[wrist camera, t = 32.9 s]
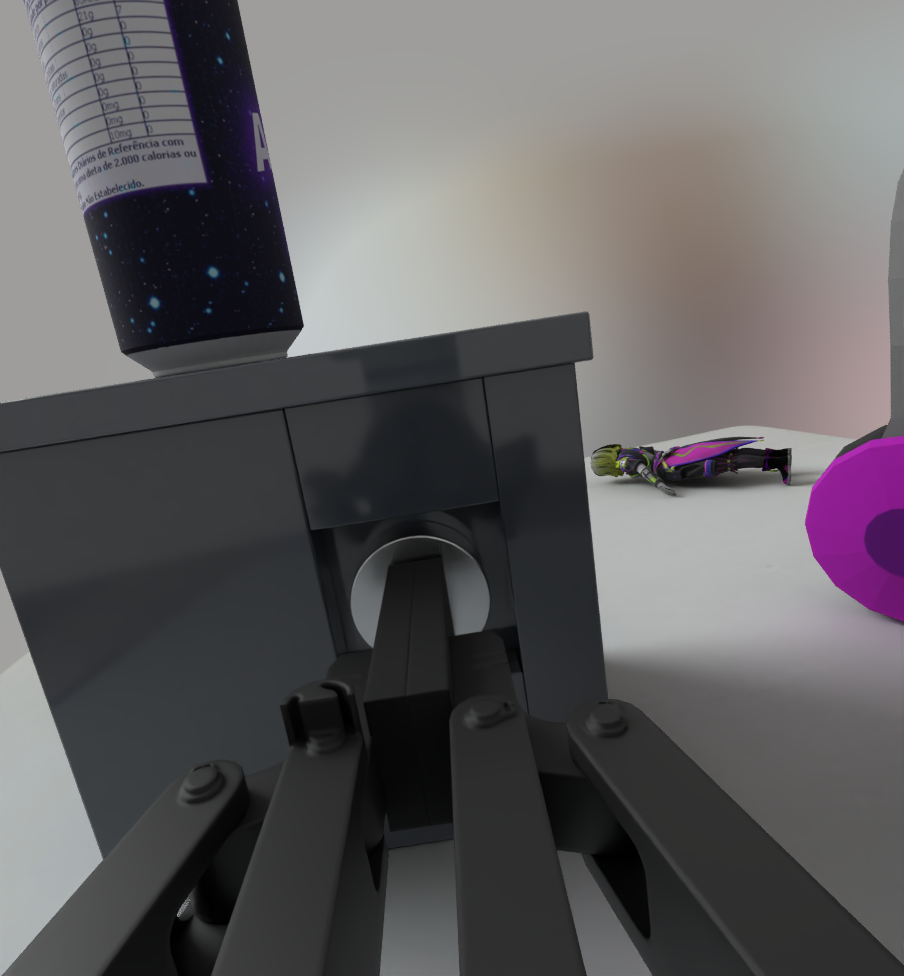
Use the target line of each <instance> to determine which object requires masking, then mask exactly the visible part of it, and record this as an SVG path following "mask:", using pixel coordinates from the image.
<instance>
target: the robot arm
mask: <svg viewBox="0 0 904 976" xmlns="http://www.w3.org/2000/svg"><path fill="white" fill-rule="evenodd" d="M280 709H281V714H282V718H283V722H284V726H285V730H286V734H287V738H288V742H289V749H288V752H287V755H286V758H285V760H284V761H282V762H280V763H279V764H276V765H274V766H272V767H270V768H267V769H264V770H262V771H259V772H256V773H254V774H251V775H248V776H244V772H243V769H242V767H241V766H240V765H239V764H238V763H237V762H236V761H231V760H226V759H222V760H214V761H209V762H205V763H203V764H199V765H197V766H194V767H193V768H191V769H190V770H188V771H186V772H185V773H183V774H181V775H180V776H179V777H177V778H176V779H175V780H174V781H173V782H172V783H171V784H170V785H169V786H168V787H167V788H166V789H165V790H164V791H163V792H162V793H161V795H160V796H159V797H158V798H157V799H156V800H155V801H154V803H153V804H152V805H151V806H150V807H149V808H148V809H147V811H146V812H145V813H144V814H143V815H142V816H141V817H140V819H139V820H138V821H137V822H136V823H135V824H134V825H133V827H132V828H131V829H130V830H129V831H128V832H127V833H126V835H125V836H124V837H123V838H122V839H121V840H120V841H119V843H118V844H117V845H116V846H115V847H114V848H113V849H112V851H111V852H110V853H109V854H108V855H107V856H106V857H105V859H104V860H103V861H102V862H101V863H100V864H99V865H98V867H97V868H96V869H95V870H94V871H93V872H92V873H91V875H90V876H89V877H88V878H87V879H86V880H85V881H84V883H83V884H82V885H81V886H80V887H79V888H78V889H77V891H76V892H75V893H74V894H73V895H72V896H71V897H70V899H69V900H68V901H67V902H66V903H65V904H64V905H63V907H62V908H61V909H60V910H59V911H58V912H57V913H56V915H55V916H54V917H53V918H52V919H51V920H50V921H49V923H48V924H47V925H46V926H45V927H44V928H43V929H42V931H41V932H40V933H39V934H38V935H37V936H36V937H35V939H34V940H33V941H32V942H31V943H30V944H29V945H28V947H27V948H26V949H25V950H24V951H23V952H22V953H21V955H20V956H19V957H18V958H17V959H16V960H15V961H14V963H13V964H12V965H11V966H10V967H9V968H8V969H7V971H6V972H5V973H4V974H3V975H2V976H379V974H380V961H381V948H382V936H383V923H384V910H385V897H386V884H387V871H388V858H389V854H388V848H387V843H386V838H385V834H384V824H385V814H387V819H388V824H389V829H390V832H394V831H401V830H407V829H414V828H420V827H427V826H434V825H441V824H448V823H454V846H455V870H456V894H457V918H458V943H459V967H460V976H587V975H586V971H585V967H584V963H583V959H582V954H581V950H580V946H579V942H578V938H577V934H576V929H575V925H574V921H573V917H572V913H571V909H570V904H569V900H568V896H567V892H566V888H565V884H564V879H563V875H562V871H561V867H560V863H559V859H558V854H557V850H562V851H570V852H577V853H582V855H583V858H584V861H585V864H586V866H587V868H588V869H589V871H590V873H591V874H592V876H593V878H594V879H595V881H596V883H597V884H598V886H599V887H600V889H601V891H602V892H603V894H604V896H605V897H606V899H607V901H608V902H609V904H610V906H611V907H612V909H613V911H614V912H615V914H616V916H617V917H618V919H619V921H620V922H621V924H622V925H623V927H624V929H625V930H626V932H627V934H628V935H629V937H630V939H631V940H632V942H633V944H634V945H635V947H636V949H637V950H638V952H639V954H640V955H641V957H642V958H643V960H644V962H645V963H646V965H647V967H648V968H649V970H650V972H651V973H652V975H653V976H904V965H903V964H902V963H901V962H900V961H899V960H898V959H897V958H896V957H895V956H894V955H892V954H891V953H890V952H889V951H888V950H887V949H886V948H885V947H884V946H883V945H882V944H881V943H880V942H879V941H878V940H877V939H876V938H875V937H874V936H873V935H872V934H871V933H870V932H869V931H868V930H867V929H866V928H865V927H864V926H863V925H862V924H861V923H860V922H858V921H857V920H856V919H855V918H854V917H853V916H852V915H851V914H850V913H849V912H848V911H847V910H846V909H845V908H844V907H843V906H842V905H841V904H840V903H839V902H838V901H837V900H836V899H835V898H834V897H833V896H832V895H831V894H830V893H829V892H828V891H827V890H826V889H824V888H823V887H822V886H821V885H820V884H819V883H818V882H817V881H816V880H815V879H814V878H813V877H812V876H811V875H810V874H809V873H808V872H807V871H806V870H805V869H804V868H803V867H802V866H801V865H800V864H799V863H798V862H797V861H796V860H795V859H794V858H793V857H791V856H790V855H789V854H788V853H787V852H786V851H785V850H784V849H783V848H782V847H781V846H780V845H779V844H778V843H777V842H776V841H775V840H774V839H773V838H772V837H771V836H770V835H769V834H768V833H767V832H766V831H765V830H764V829H763V828H762V827H761V826H760V825H759V824H757V823H756V822H755V821H754V820H753V819H752V818H751V817H750V816H749V815H748V814H747V813H746V812H745V811H744V810H743V809H742V808H741V807H740V806H739V805H738V804H737V803H736V802H735V801H734V800H733V799H732V798H731V797H730V796H729V795H728V794H727V793H726V792H725V791H723V790H722V789H721V788H720V787H719V786H718V785H717V784H716V783H715V782H714V781H713V780H712V779H711V778H710V777H709V776H708V775H707V774H706V773H705V772H704V771H703V770H702V769H701V768H700V767H699V766H698V765H697V764H696V763H695V762H694V761H693V760H692V759H691V758H689V757H688V756H687V755H686V754H685V753H684V752H683V751H682V750H681V749H680V748H679V747H678V746H677V745H676V744H675V743H674V742H673V741H672V740H671V739H670V738H669V737H668V736H667V735H666V734H665V733H664V732H663V731H662V730H661V729H660V728H659V727H658V726H657V725H655V724H654V723H653V722H652V721H651V720H650V719H649V718H648V717H647V716H646V715H645V714H644V713H643V712H642V711H641V710H639V709H638V708H636V707H635V706H633V705H632V704H629V703H626V702H623V701H619V700H612V699H599V700H593V701H588V702H586V703H583V704H581V705H579V706H577V707H576V708H575V709H574V710H573V711H572V712H571V713H570V714H569V715H568V719H567V723H559V722H550V721H544V720H540V719H537V718H534V717H532V716H531V715H529V714H527V713H526V712H525V711H524V710H523V709H522V708H521V706H520V704H519V703H518V701H517V696H516V692H515V688H514V684H513V680H512V676H511V671H510V667H509V664H508V659H507V655H506V651H505V646H504V642H503V639H502V638H501V637H500V636H498V635H497V634H496V633H495V632H493V631H492V630H487V631H480V632H474V633H467V634H461V635H455V634H454V628H453V622H452V616H451V610H450V604H449V598H448V591H447V585H446V579H445V573H444V567H443V561H442V557H441V558H435V559H428V560H422V561H415V562H409V563H402V564H396V565H389V566H388V571H387V577H386V582H385V587H384V593H383V598H382V603H381V609H380V614H379V619H378V625H377V630H376V636H375V641H374V646H373V650H367V651H360V652H354V653H347V654H341V655H340V656H339V657H338V658H337V659H336V661H335V662H334V663H333V664H332V665H331V666H330V667H329V669H328V672H327V675H326V678H325V679H322V680H318V681H314V682H310V683H307V684H305V685H303V686H301V687H299V688H297V689H295V690H294V691H292V692H291V693H290V694H289V695H287V696H286V697H285V698H284V700H283V701H282V703H281V704H280ZM188 895H189V898H190V903H189V904H188V906H187V907H186V909H185V910H184V912H183V913H182V914H181V915H180V916H179V917H177V913H178V911H179V909H180V907H181V906H182V904H183V903H184V901H185V900H186V898H187V897H188Z"/></svg>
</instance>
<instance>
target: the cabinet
mask: <svg viewBox="0 0 904 976" xmlns="http://www.w3.org/2000/svg"><path fill="white" fill-rule="evenodd" d="M592 359H593V348H592V338H591V326H590V316H589V313H588V312H579V313H573V314H566V315H559V316H553V317H547V318H541V319H534V320H527V321H521V322H514V323H508V324H502V325H496V326H489V327H483V328H476V329H469V330H463V331H457V332H450V333H444V334H438V335H431V336H424V337H418V338H412V339H405V340H398V341H392V342H386V343H379V344H373V345H367V346H360V347H353V348H347V349H341V350H334V351H328V352H321V353H315V354H308V355H302V356H296V357H289V358H283V359H276V360H270V361H263V362H257V363H250V364H244V365H238V366H231V367H225V368H218V369H212V370H205V371H199V372H192V373H186V374H180V375H173V376H167V377H160V378H154V379H147V380H141V381H135V382H128V383H122V384H115V385H109V386H103V387H96V388H89V389H83V390H77V391H70V392H64V393H57V394H51V395H44V396H38V397H31V398H26V399H19V400H13V401H6V402H0V569H1V572H2V575H3V577H4V580H5V583H6V586H7V589H8V591H9V594H10V597H11V600H12V603H13V606H14V608H15V611H16V614H17V617H18V620H19V623H20V625H21V628H22V631H23V634H24V637H25V639H26V642H27V645H28V648H29V651H30V654H31V657H32V659H33V662H34V665H35V668H36V671H37V674H38V676H39V679H40V682H41V685H42V688H43V691H44V693H45V696H46V699H47V702H48V705H49V708H50V710H51V713H52V716H53V719H54V722H55V725H56V727H57V730H58V733H59V736H60V739H61V742H62V744H63V747H64V750H65V753H66V756H67V759H68V761H69V764H70V767H71V770H72V773H73V776H74V778H75V781H76V784H77V787H78V790H79V793H80V795H81V798H82V801H83V804H84V807H85V810H86V812H87V815H88V818H89V821H90V824H91V827H92V829H93V832H94V835H95V838H96V841H97V844H98V846H99V849H100V852H101V855H102V858H103V860H104V859H105V857H106V856H107V855H108V854H109V853H110V852H111V851H112V849H113V848H114V847H115V846H116V845H117V844H118V843H119V841H120V840H121V839H122V838H123V837H124V836H125V835H126V833H127V832H128V831H129V830H130V829H131V828H132V827H133V825H134V824H135V823H136V822H137V821H138V820H139V819H140V817H141V816H142V815H143V814H144V813H145V812H146V811H147V809H148V808H149V807H150V806H151V805H152V804H153V803H154V801H155V800H156V799H157V798H158V797H159V796H160V795H161V793H162V792H163V791H164V790H165V789H166V788H167V787H168V786H169V785H170V784H171V783H172V782H173V781H174V780H175V779H176V778H177V777H179V776H180V775H181V774H183V773H185V772H186V771H188V770H190V769H191V768H193V767H194V766H197V765H199V764H203V763H205V762H209V761H214V760H222V759H226V760H231V761H236V762H237V763H238V764H239V765H240V766H241V767H242V769H243V772H244V776H248V775H251V774H254V773H256V772H259V771H262V770H264V769H267V768H270V767H272V766H274V765H276V764H279V763H280V762H282V761H284V760H285V758H286V755H287V752H288V749H289V742H288V738H287V734H286V730H285V726H284V722H283V718H282V714H281V709H280V704H281V703H282V701H283V700H284V698H285V697H286V696H287V695H289V694H290V693H291V692H292V691H294V690H295V689H297V688H299V687H301V686H303V685H305V684H307V683H310V682H314V681H318V680H322V679H325V678H326V675H327V672H328V669H329V667H330V666H331V665H332V664H333V663H334V662H335V661H336V659H337V658H338V657H339V656H340V655H341V654H347V653H354V652H360V651H367V650H373V648H371V647H370V646H369V645H368V644H367V643H366V641H365V640H364V639H363V638H362V637H361V635H360V633H359V632H358V630H357V628H356V626H355V624H354V622H353V618H352V615H351V609H350V592H351V586H352V583H353V580H354V576H355V573H356V570H357V566H358V563H359V561H360V559H361V556H362V554H363V553H364V551H365V550H366V548H367V547H368V546H369V545H370V544H371V542H372V541H373V540H374V539H376V538H377V537H378V536H379V535H381V534H382V533H383V532H385V531H387V530H389V529H391V528H393V527H395V526H398V525H401V524H405V523H409V522H419V521H420V522H432V523H438V524H441V525H445V526H447V527H449V528H452V529H454V530H455V531H457V532H459V533H460V534H462V535H463V536H464V537H465V538H467V539H468V540H469V541H470V543H471V544H472V545H473V546H474V547H475V549H476V550H477V551H478V553H479V555H480V557H481V559H482V561H483V564H484V567H485V571H486V575H487V579H488V583H489V587H490V593H491V607H490V612H489V617H488V620H487V622H486V625H485V627H484V629H483V631H487V630H492V631H493V632H495V633H496V634H497V635H498V636H500V637H501V638H502V639H503V642H504V646H505V651H506V655H507V659H508V664H509V667H510V671H511V676H512V680H513V684H514V688H515V692H516V696H517V701H518V703H519V704H520V706H521V708H522V709H523V710H524V711H525V712H526V713H527V714H529V715H531V716H532V717H534V718H537V719H540V720H544V721H550V722H559V723H567V719H568V715H569V714H570V713H571V712H572V711H573V710H574V709H575V708H576V707H577V706H579V705H581V704H583V703H586V702H588V701H593V700H599V699H608V693H607V683H606V673H605V663H604V653H603V643H602V633H601V623H600V613H599V603H598V593H597V583H596V573H595V563H594V553H593V543H592V532H591V522H590V512H589V502H588V492H587V482H586V472H585V462H584V452H583V442H582V432H581V424H580V423H581V422H580V413H579V402H578V392H577V383H576V373H575V363H576V362H583V361H589V360H592ZM384 834H385V838H386V843H387V848H388V849H390V848H396V847H403V846H409V845H415V844H422V843H428V842H434V841H441V840H447V839H453V838H454V823H448V824H441V825H434V826H427V827H420V828H414V829H407V830H401V831H394V832H390V829H389V824H388V819H387V814H385V824H384Z"/></svg>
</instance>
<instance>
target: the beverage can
mask: <svg viewBox="0 0 904 976" xmlns="http://www.w3.org/2000/svg"><path fill="white" fill-rule="evenodd" d="M24 3H25V7H26V10H27V14H28V18H29V21H30V25H31V29H32V32H33V36H34V39H35V43H36V47H37V50H38V54H39V57H40V61H41V65H42V68H43V72H44V75H45V79H46V83H47V86H48V90H49V93H50V97H51V101H52V104H53V108H54V112H55V115H56V119H57V122H58V126H59V130H60V133H61V137H62V140H63V144H64V147H65V151H66V155H67V158H68V162H69V166H70V169H71V173H72V176H73V180H74V184H75V187H76V191H77V194H78V198H79V202H80V205H81V209H82V212H83V216H84V220H85V223H86V227H87V230H88V234H89V238H90V241H91V245H92V248H93V252H94V256H95V259H96V263H97V266H98V270H99V273H100V277H101V281H102V285H103V288H104V292H105V295H106V299H107V303H108V306H109V310H110V313H111V317H112V320H113V324H114V328H115V331H116V335H117V339H118V342H119V346H120V349H121V352H122V353H124V354H125V355H126V356H128V357H129V358H131V359H133V360H134V361H136V362H137V363H139V364H141V365H142V366H144V367H146V368H147V369H149V370H151V371H152V372H153V374H154V376H155V377H156V378H159V377H166V376H173V375H179V374H186V373H192V372H199V371H205V370H212V369H218V368H224V367H231V366H237V365H244V364H250V363H256V362H263V361H269V360H275V359H281V358H286V357H287V350H288V349H289V347H290V346H291V344H292V343H293V342H294V340H295V339H296V337H297V336H298V335H299V333H300V332H301V330H302V328H303V326H304V325H303V320H302V315H301V310H300V305H299V300H298V295H297V291H296V285H295V281H294V276H293V271H292V266H291V261H290V256H289V251H288V246H287V241H286V237H285V232H284V227H283V222H282V217H281V212H280V208H279V202H278V197H277V192H276V188H275V183H274V178H273V173H272V168H271V163H270V158H269V153H268V148H267V144H266V139H265V134H264V129H263V124H262V119H261V114H260V109H259V104H258V100H257V94H256V90H255V85H254V80H253V75H252V70H251V65H250V61H249V55H248V50H247V45H246V41H245V36H244V31H243V26H242V21H241V16H240V11H239V6H238V1H237V0H24Z"/></svg>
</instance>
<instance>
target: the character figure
mask: <svg viewBox="0 0 904 976" xmlns="http://www.w3.org/2000/svg"><path fill="white" fill-rule="evenodd" d="M757 438H758V437H757ZM762 438H764V437H759V439H762ZM739 439H756V438H755V437H729V438H720V439H714V440H709V441H704V442H698V443H694V444H690V445H686V446H683V447H680V448H679V446H678V447H673V448H670V449H669V450H668V451H666V452H664V451H656V450H654V449H653V447H641V446H639V448H640V449H638V448H624V449H623V448H621V445H617V444H613V445H607V446H604V447H601V448H599V449H597V450H595V451H594V452H593V454H592V457H591V468H592V470H593V471H594V473H595V474H596V475H598V476H605V475H611V476H615V477H618V475H619V476H623V474H624V472H626V474H628V475H629V476H630V477H631V478H634V479H637V478H639V477H644V478H645V479H647V480H648V481H650V482H651V483H652V484H653V485H654V486H656V487H658V488H659V489H661V490H662V491H663V492H664V493H666V494H668V495H671V496H675V495H676V494H675V492H674V491H672V490H669V489H673V488H671V487H667V486H666V485H665V484H664V483H662V482H661V481H660V480H658V478H657V477H660V478H661V479H662V480H663V481H664V482H668V481H672V480H674V481H676V480H677V481H682V480H684V479H686V478H696V477H699V478H700V477H703V478H710V477H714V476H717V475H719V474H721V473H724V472H728V471H731V472H735V473H737V472H736V471H739V470H738V469H741V468H762V471H772V472H777V471H778V470H779V471H780V472H781V475H782V478H783V483H784V484H787V485H790V481H791V461H792V456H791V448H787V449H782V450H774V449H769V448H766V449H765V450H762V449H760V450H759V449H754V448H741V449H739V450H738V449H737V448H738V447H740V446H743V445H746V444H750V443H753V442H756V441H735V440H739ZM757 441H764V440H757ZM776 468H777V469H778V470H771V469H776ZM734 470H735V471H734ZM737 474H738V473H737Z"/></svg>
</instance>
